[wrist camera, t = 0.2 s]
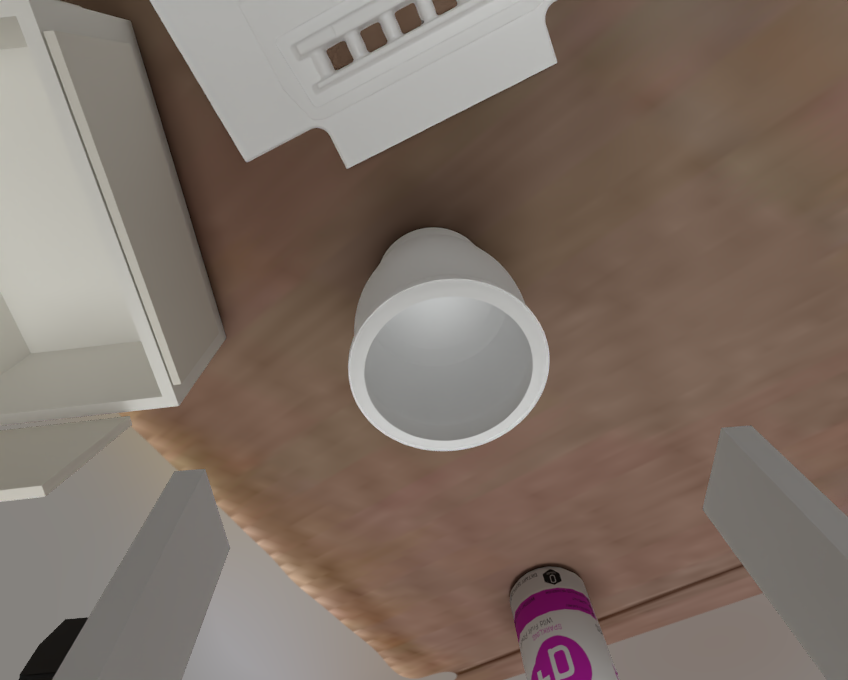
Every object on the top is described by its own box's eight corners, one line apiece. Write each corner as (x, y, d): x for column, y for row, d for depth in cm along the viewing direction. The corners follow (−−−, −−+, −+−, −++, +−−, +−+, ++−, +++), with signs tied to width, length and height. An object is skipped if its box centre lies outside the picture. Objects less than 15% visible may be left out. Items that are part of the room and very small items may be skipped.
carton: (-132, 39, 32) (-342, 18, 23) (136, 8, 32) (33, -25, 23) (29, 360, 42) (-73, 434, 33) (233, 337, 42) (188, 404, 33)
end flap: (-166, 508, 25) (-161, 519, 25) (41, 485, 25) (45, 496, 25) (-29, 433, 32) (-26, 442, 32) (129, 416, 32) (132, 424, 32)
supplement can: (495, 581, 55) (527, 738, 42) (565, 551, 54) (621, 705, 40) (526, 623, 59) (565, 781, 45) (593, 596, 57) (654, 751, 44)
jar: (489, 199, 38) (540, 258, 24) (506, 324, 42) (558, 434, 29) (348, 228, 38) (321, 303, 25) (380, 349, 43) (372, 469, 29)
